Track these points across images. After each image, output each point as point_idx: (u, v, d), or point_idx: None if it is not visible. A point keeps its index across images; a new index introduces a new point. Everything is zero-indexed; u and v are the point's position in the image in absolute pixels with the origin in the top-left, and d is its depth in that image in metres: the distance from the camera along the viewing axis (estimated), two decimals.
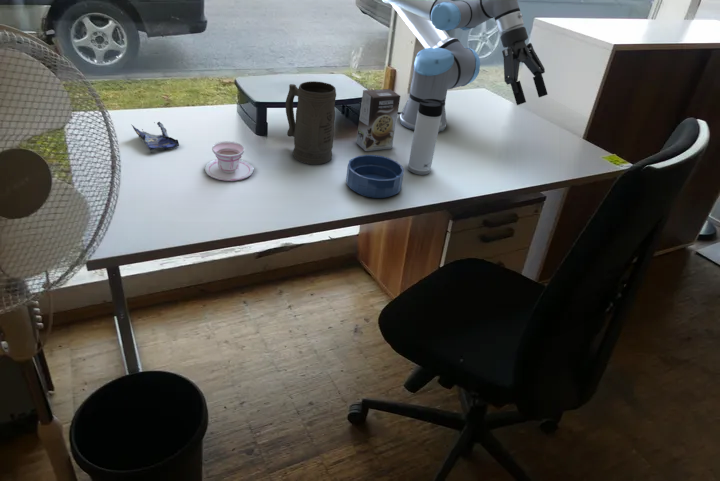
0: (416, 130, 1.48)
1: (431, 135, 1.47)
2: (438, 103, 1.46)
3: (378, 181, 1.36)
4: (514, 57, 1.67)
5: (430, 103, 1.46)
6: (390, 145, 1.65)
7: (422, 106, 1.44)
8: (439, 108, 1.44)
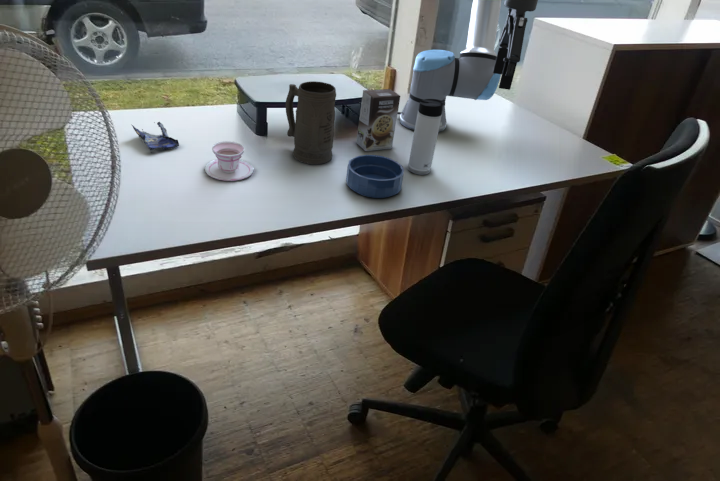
0: (416, 130, 1.48)
1: (431, 135, 1.47)
2: (438, 103, 1.46)
3: (378, 181, 1.36)
4: None
5: (431, 103, 1.46)
6: (390, 145, 1.65)
7: (422, 106, 1.44)
8: (439, 108, 1.44)
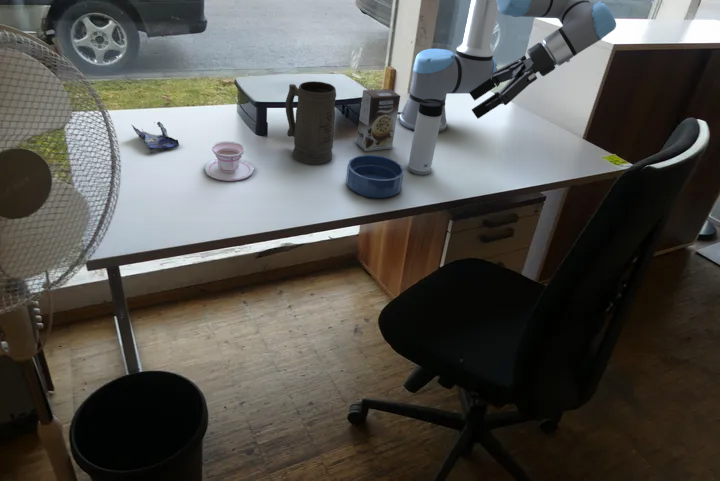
0: (416, 130, 1.48)
1: (431, 135, 1.47)
2: (438, 103, 1.46)
3: (378, 181, 1.36)
4: None
5: (431, 103, 1.46)
6: (390, 145, 1.65)
7: (422, 106, 1.44)
8: (439, 108, 1.44)
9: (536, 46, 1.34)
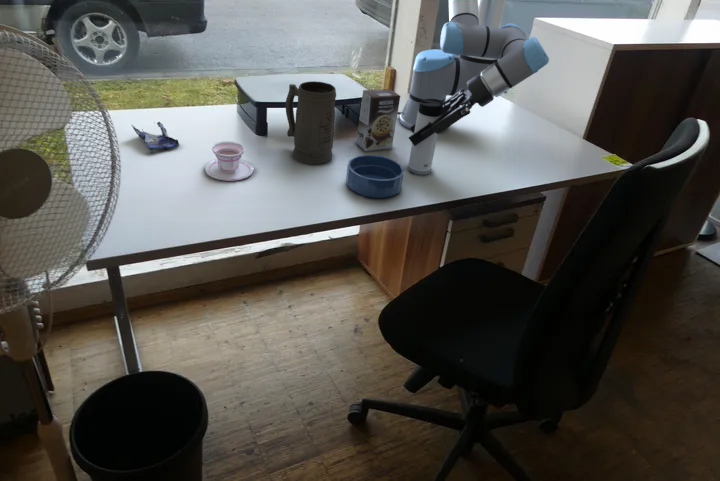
0: (416, 130, 1.48)
1: (431, 135, 1.47)
2: (438, 103, 1.46)
3: (378, 181, 1.36)
4: None
5: (431, 103, 1.46)
6: (390, 145, 1.65)
7: (422, 106, 1.44)
8: (439, 108, 1.44)
9: (474, 78, 1.40)
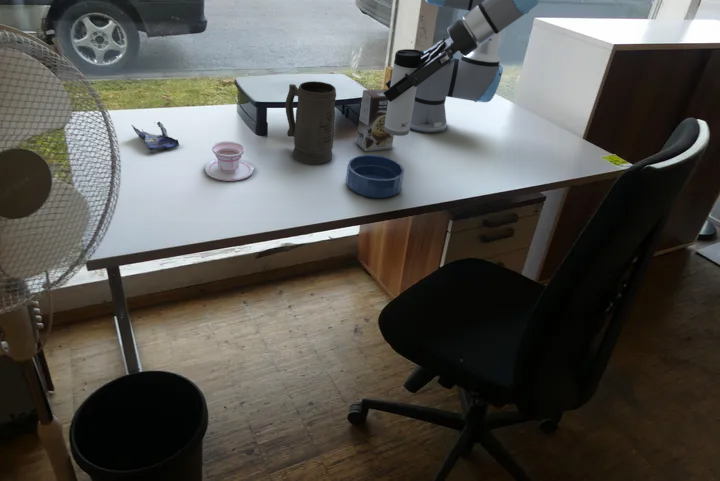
0: (392, 84, 1.33)
1: (409, 90, 1.32)
2: (416, 53, 1.31)
3: (378, 181, 1.36)
4: None
5: (408, 53, 1.30)
6: (390, 145, 1.65)
7: (398, 56, 1.29)
8: (417, 58, 1.28)
9: (455, 23, 1.25)
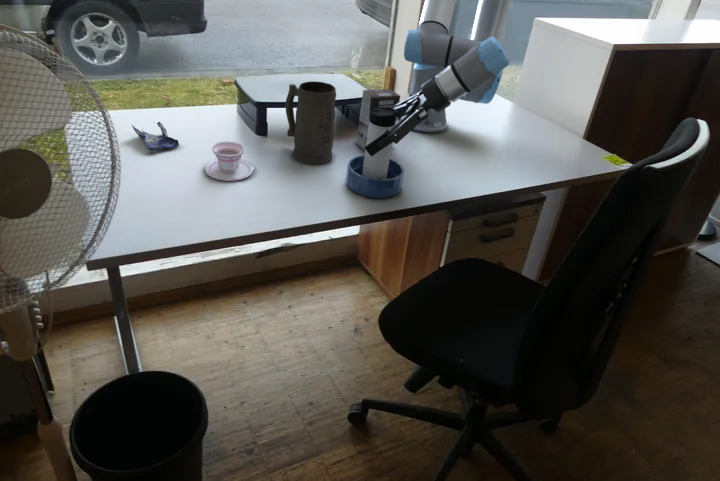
0: (368, 141, 1.37)
1: None
2: (391, 112, 1.35)
3: (378, 181, 1.36)
4: None
5: (382, 112, 1.34)
6: None
7: (373, 115, 1.33)
8: (391, 117, 1.32)
9: (429, 82, 1.28)
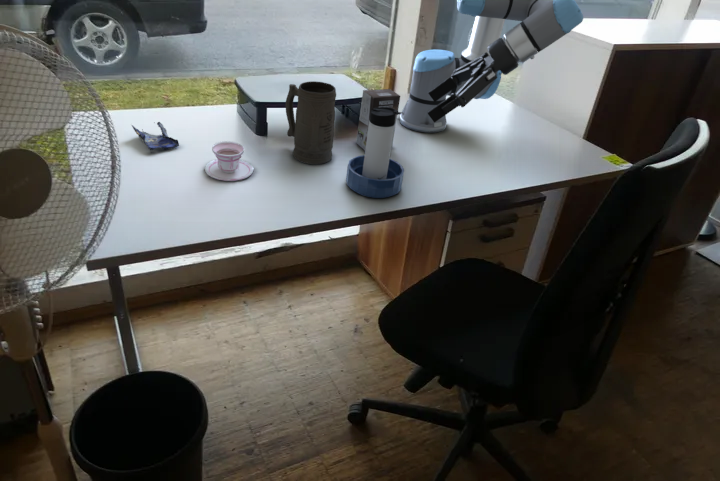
0: (368, 141, 1.37)
1: (384, 147, 1.36)
2: (391, 112, 1.35)
3: (378, 181, 1.36)
4: None
5: (382, 112, 1.34)
6: None
7: (373, 115, 1.33)
8: (391, 117, 1.32)
9: (496, 42, 1.22)
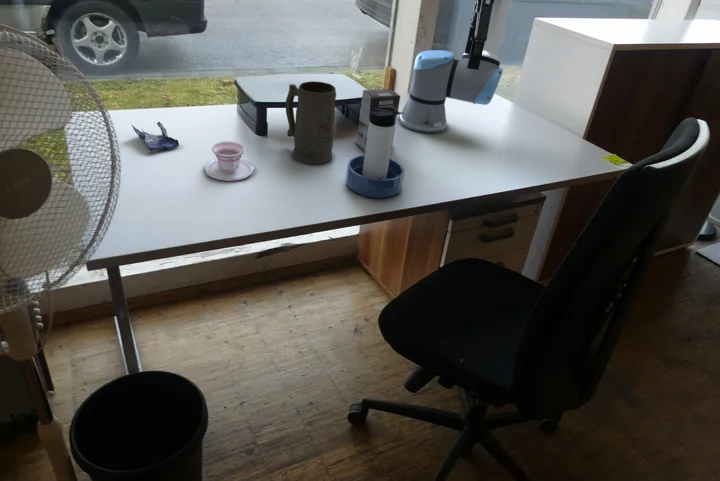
0: (368, 141, 1.37)
1: (384, 147, 1.36)
2: (391, 112, 1.35)
3: (378, 181, 1.36)
4: None
5: (382, 112, 1.34)
6: None
7: (373, 115, 1.33)
8: (391, 117, 1.32)
9: None
